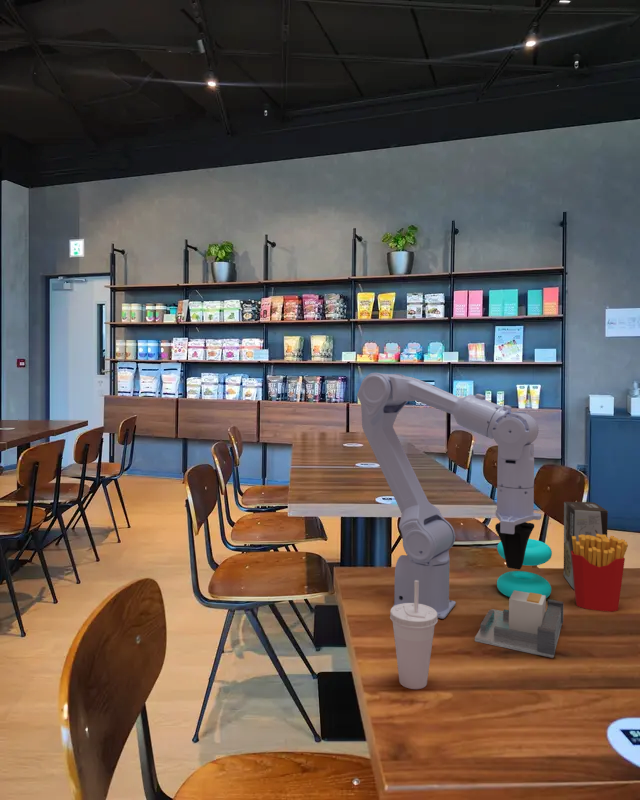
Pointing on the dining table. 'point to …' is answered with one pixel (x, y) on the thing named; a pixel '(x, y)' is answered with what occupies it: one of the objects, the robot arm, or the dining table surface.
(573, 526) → the coffee box
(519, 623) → the block
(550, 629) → the rail
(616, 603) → the french fries
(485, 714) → the dining table surface
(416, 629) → the smoothie
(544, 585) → the donuts
